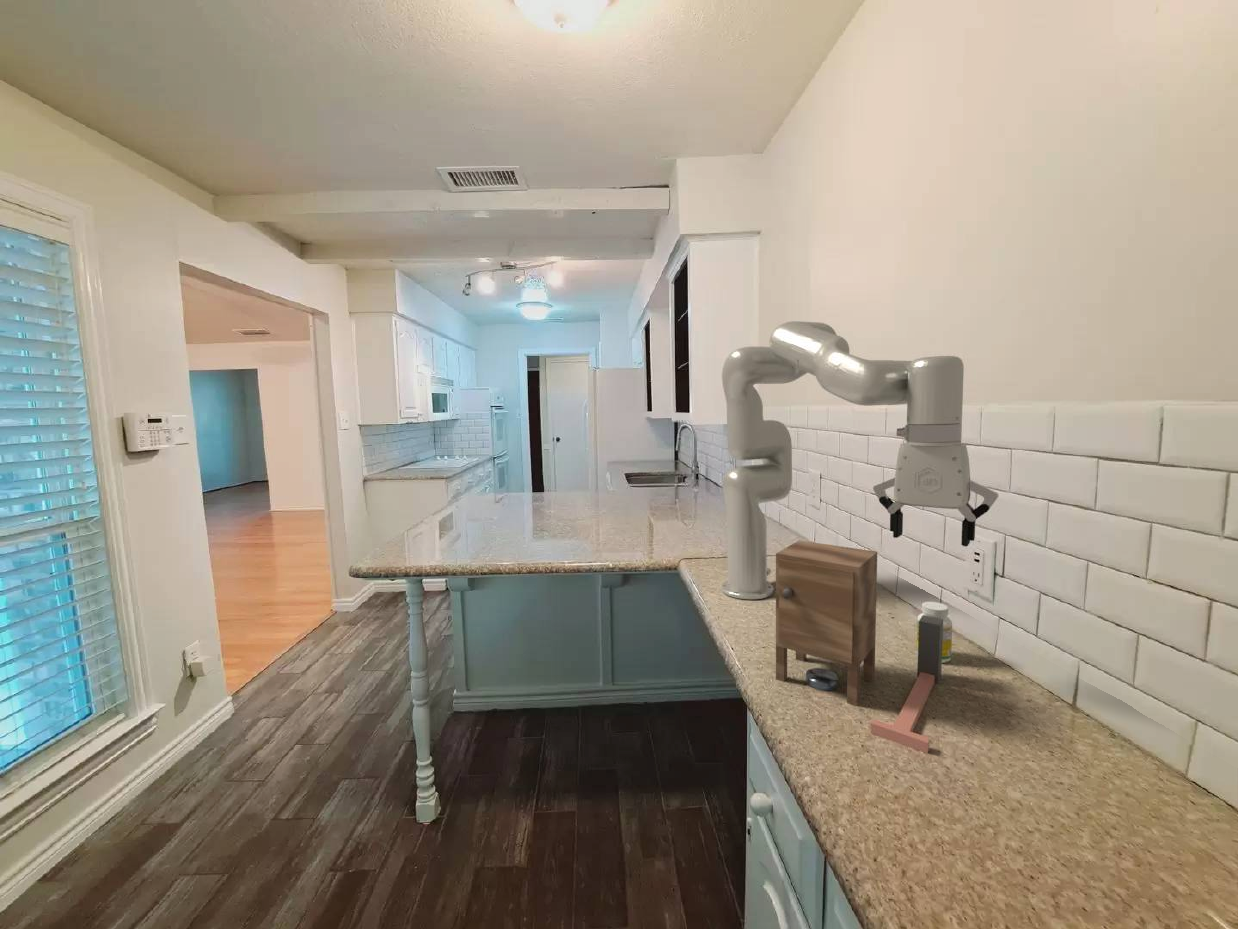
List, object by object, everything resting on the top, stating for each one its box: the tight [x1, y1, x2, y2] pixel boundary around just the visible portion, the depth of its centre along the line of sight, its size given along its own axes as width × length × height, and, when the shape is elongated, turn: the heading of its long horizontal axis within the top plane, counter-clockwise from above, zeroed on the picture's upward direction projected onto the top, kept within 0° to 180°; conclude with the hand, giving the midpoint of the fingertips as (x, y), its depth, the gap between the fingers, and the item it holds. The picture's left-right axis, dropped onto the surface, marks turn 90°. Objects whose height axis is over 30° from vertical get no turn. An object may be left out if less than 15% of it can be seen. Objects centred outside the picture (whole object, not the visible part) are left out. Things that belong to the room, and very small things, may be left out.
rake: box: [870, 615, 943, 754], centre depth 78 cm, size 23×7×10 cm, turn 139°
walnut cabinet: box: [775, 540, 878, 706], centre depth 85 cm, size 12×13×22 cm
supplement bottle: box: [916, 601, 953, 664], centre depth 93 cm, size 5×5×10 cm
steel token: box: [805, 667, 839, 692], centre depth 86 cm, size 5×5×2 cm
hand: (930, 540), depth 84 cm, fingers open, 9 cm apart
